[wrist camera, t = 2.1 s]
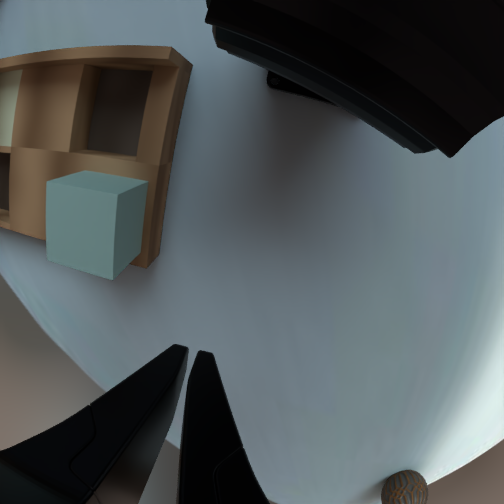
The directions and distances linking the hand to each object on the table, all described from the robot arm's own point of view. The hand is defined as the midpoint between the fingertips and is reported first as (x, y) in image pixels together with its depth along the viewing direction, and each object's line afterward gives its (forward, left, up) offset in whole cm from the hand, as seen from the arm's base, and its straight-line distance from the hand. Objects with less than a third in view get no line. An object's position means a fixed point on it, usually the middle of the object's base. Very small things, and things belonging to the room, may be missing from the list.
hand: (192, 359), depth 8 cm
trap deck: (+14, -3, -13) cm, 19 cm away
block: (+8, 0, -10) cm, 13 cm away
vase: (-30, +31, -13) cm, 45 cm away
